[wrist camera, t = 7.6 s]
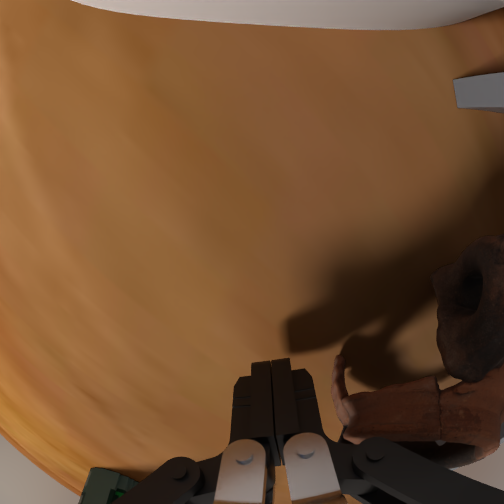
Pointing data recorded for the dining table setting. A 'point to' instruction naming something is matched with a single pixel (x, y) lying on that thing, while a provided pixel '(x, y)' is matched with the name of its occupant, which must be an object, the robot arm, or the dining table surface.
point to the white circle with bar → (311, 12)
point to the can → (105, 486)
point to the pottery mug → (457, 365)
